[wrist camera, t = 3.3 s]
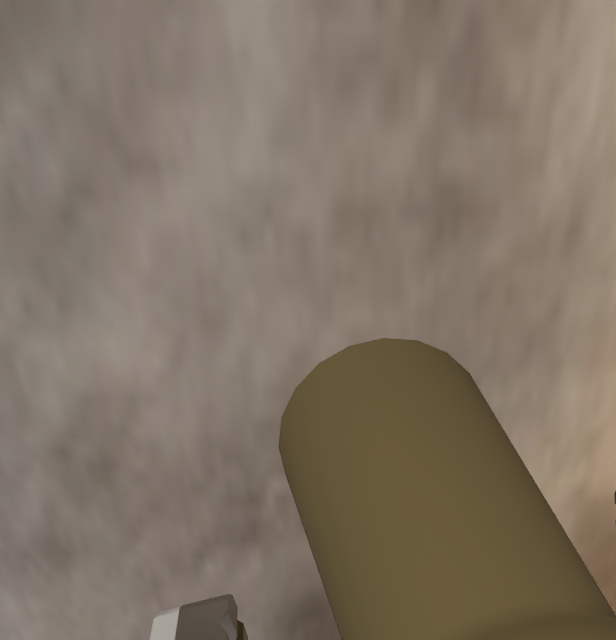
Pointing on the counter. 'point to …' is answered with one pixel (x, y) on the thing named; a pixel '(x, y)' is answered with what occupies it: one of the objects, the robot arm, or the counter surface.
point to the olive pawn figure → (427, 507)
